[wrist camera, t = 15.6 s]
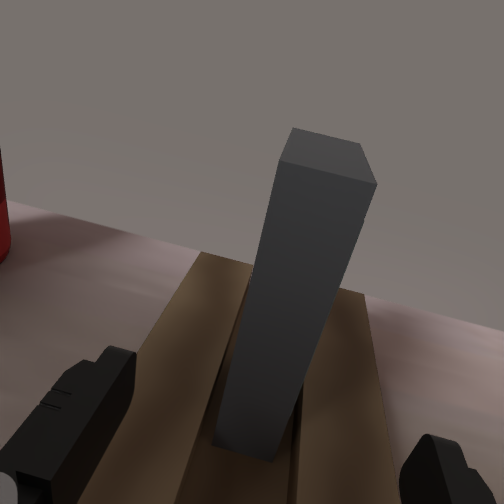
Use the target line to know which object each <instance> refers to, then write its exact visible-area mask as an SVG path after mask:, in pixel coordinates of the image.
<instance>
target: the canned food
mask: <svg viewBox="0 0 504 504" xmlns="http://www.w3.org/2000/svg"><path fill="white" fill-rule="evenodd" d="M10 245H11V235H10V226H9V218H8V209H7V201H6V193H5V184H4V176H3V167H2V159H1V150H0V263H1V262H2V261H3V260H4V259H5V258H6V256H7V254H8V252H9V248H10Z"/></svg>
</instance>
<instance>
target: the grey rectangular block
mask: <svg viewBox="0 0 504 504" xmlns="http://www.w3.org/2000/svg"><path fill="white" fill-rule="evenodd" d="M376 187H377V182H376V180H375V178H374V176H373V173H372V171H371V168H370V166H369V164H368V161H367V159H366V157H365V154H364V152H363V150H362V147H361V145H360V144H359V143H355V142H351V141H347V140H342V139H338V138H334V137H330V136H326V135H322V134H318V133H313V132H309V131H305V130H300V129H297V128H293V129H292V131H291V133H290V136H289V138H288V140H287V143H286V145H285V148H284V150H283V152H282V155H281V157H280V159H279V163H278V167H277V171H276V175H275V180H274V184H273V188H272V192H271V197H270V201H269V205H268V209H267V213H266V218H265V222H264V226H263V230H262V234H261V239H260V243H259V247H258V251H257V255H256V260H255V264H254V268H253V272H252V276H251V280H250V285H249V289H248V293H247V297H246V301H245V306H244V310H243V314H242V318H241V323H240V327H239V331H238V335H237V339H236V344H235V348H234V352H233V356H232V360H231V365H230V369H229V373H228V377H227V381H226V386H225V390H224V394H223V398H222V402H221V407H220V411H219V415H218V419H217V423H216V428H215V432H214V436H213V440H212V444H211V445H212V446H215V447H219V448H222V449H226V450H229V451H233V452H236V453H240V454H243V455H246V456H250V457H253V458H257V459H260V460H264V461H267V462H271V463H272V462H273V460H274V457H275V454H276V452H277V449H278V446H279V444H280V441H281V438H282V436H283V433H284V430H285V428H286V425H287V422H288V420H289V417H290V416H291V413H292V411H293V408H294V405H295V403H296V400H297V397H298V395H299V392H300V390H301V387H302V384H303V382H304V379H305V376H306V374H307V371H308V368H309V366H310V363H311V360H312V358H313V355H314V353H315V350H316V347H317V345H318V342H319V339H320V337H321V334H322V331H323V329H324V326H325V323H326V321H327V318H328V316H329V313H330V310H331V308H332V305H333V302H334V300H335V297H336V294H337V292H338V289H339V287H340V284H341V281H342V279H343V276H344V273H345V271H346V268H347V265H348V263H349V260H350V257H351V255H352V252H353V250H354V247H355V244H356V242H357V239H358V236H359V234H360V231H361V228H362V226H363V223H364V218H365V216H366V213H367V211H368V208H369V205H370V203H371V200H372V197H373V195H374V192H375V189H376Z"/></svg>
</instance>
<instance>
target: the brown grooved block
mask: <svg viewBox="0 0 504 504" xmlns="http://www.w3.org/2000/svg"><path fill="white" fill-rule="evenodd" d="M252 269H253V265H251V264H247V263H243V262H239V261H236V260H232V259H228V258H224V257H220V256H216V255H213V254H209V253H205V252H200V254H199V256H198V257H197V259H196V260H195V262H194V263H193V265H192V267H191V268H190V270H189V271H188V273H187V275H186V276H185V278H184V279H183V281H182V283H181V284H180V286H179V287H178V289H177V291H176V292H175V294H174V295H173V297H172V298H171V300H170V302H169V303H168V305H167V306H166V308H165V310H164V311H163V313H162V314H161V316H160V318H159V319H158V321H157V322H156V324H155V326H154V327H153V329H152V330H151V332H150V334H149V335H148V337H147V338H146V340H145V341H144V343H143V345H142V346H141V348H140V349H139V351H138V353H137V361H136V375H135V389H134V394H133V398H132V401H131V404H130V406H129V409H128V411H127V413H126V415H125V417H124V418H123V420H122V422H121V424H120V426H119V428H118V429H117V431H116V433H115V435H114V437H113V439H112V440H111V442H110V444H109V446H108V448H107V450H106V451H105V453H104V455H103V457H102V459H101V460H100V462H99V464H98V466H97V468H96V470H95V471H94V473H93V475H92V477H91V479H90V481H89V482H88V484H87V486H86V488H85V490H84V492H83V493H82V495H81V497H80V499H79V501H78V503H77V504H400V500H399V494H398V488H397V482H396V476H395V471H394V465H393V459H392V453H391V447H390V442H389V436H388V430H387V424H386V419H385V413H384V407H383V401H382V395H381V390H380V384H379V378H378V372H377V366H376V361H375V355H374V349H373V343H372V337H371V332H370V326H369V320H368V314H367V308H366V303H365V297H364V294H361V293H358V292H354V291H350V290H346V289H342V288H339V289H338V292H337V294H336V297H335V300H334V302H333V305H332V308H331V310H330V313H329V316H328V318H327V321H326V323H325V326H324V329H323V331H322V334H321V337H320V339H319V342H318V345H317V347H316V350H315V353H314V355H313V358H312V360H311V363H310V366H309V368H308V371H307V374H306V376H305V379H304V382H303V384H302V387H301V390H300V392H299V395H298V397H297V400H296V403H295V405H294V408H293V411H292V413H291V416H290V417H289V420H288V422H287V425H286V428H285V430H284V433H283V436H282V438H281V441H280V444H279V446H278V449H277V452H276V454H275V457H274V460H273V462H272V463H271V462H267V461H264V460H260V459H257V458H253V457H250V456H246V455H243V454H240V453H236V452H233V451H229V450H226V449H222V448H219V447H215V446H212V445H211V444H212V440H213V436H214V432H215V428H216V423H217V419H218V415H219V411H220V407H221V402H222V398H223V394H224V390H225V386H226V381H227V377H228V373H229V369H230V365H231V360H232V356H233V352H234V348H235V344H236V339H237V335H238V331H239V327H240V323H241V318H242V314H243V310H244V306H245V301H246V297H247V293H248V289H249V282H250V278H251V274H252Z"/></svg>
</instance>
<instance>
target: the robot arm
mask: <svg viewBox="0 0 504 504" xmlns="http://www.w3.org/2000/svg"><path fill="white" fill-rule="evenodd" d="M136 361H137V354H136V352H132V351H129V350H125V349H121V348H118V347H114V346H108V347H107V348H106V349H105V350H104V351H103V353H102V354H101V355H100V357H99V358H98V359H97V361H96V362H91V361H88V360H82V361H80V362H79V363H77V364H76V365H74V366H73V367H71V368H70V369H68V370H66V371H65V372H64V373H63V374H62V376H61V377H60V378H59V379H58V381H57V382H56V383H55V384H54V385H53V387H52V388H51V391H49V392H48V393H47V394H46V395H45V397H44V398H43V399H42V400H41V401H40V404H39V405H37V406H36V408H35V409H34V410H33V411H32V412H31V414H30V415H29V416H28V417H27V419H26V420H25V421H24V422H23V424H22V425H21V426H20V427H19V428H18V430H17V431H16V432H15V433H14V435H13V436H12V437H11V438H10V439H9V441H8V442H7V443H6V444H5V446H4V447H3V448H2V449H1V451H0V504H77V503H78V501H79V499H80V497H81V495H82V493H83V492H84V490H85V488H86V486H87V484H88V482H89V481H90V479H91V477H92V475H93V473H94V471H95V470H96V468H97V466H98V464H99V462H100V460H101V459H102V457H103V455H104V453H105V451H106V450H107V448H108V446H109V444H110V442H111V440H112V439H113V437H114V435H115V433H116V431H117V429H118V428H119V426H120V424H121V422H122V420H123V418H124V417H125V415H126V413H127V411H128V409H129V406H130V404H131V401H132V398H133V394H134V389H135V375H136ZM399 491H400V497H401V502H402V504H496V501H495V498H494V496H493V493H492V492H491V490H490V489H489V487H488V486H487V485H486V483H485V482H484V480H483V479H482V478H481V476H480V475H479V473H478V472H477V470H475V469H471V468H468V466H467V463H466V460H465V458H464V455H463V452H462V450H461V447H460V446H459V444H458V443H457V442H455V441H451V440H448V439H444V438H441V437H437V436H433V435H430V434H424V435H423V436H422V437H421V439H420V440H419V442H418V443H417V445H416V446H415V448H414V449H413V451H412V452H411V454H410V455H409V457H408V458H407V460H406V461H405V463H404V464H403V466H402V469H401V472H400V477H399Z"/></svg>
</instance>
